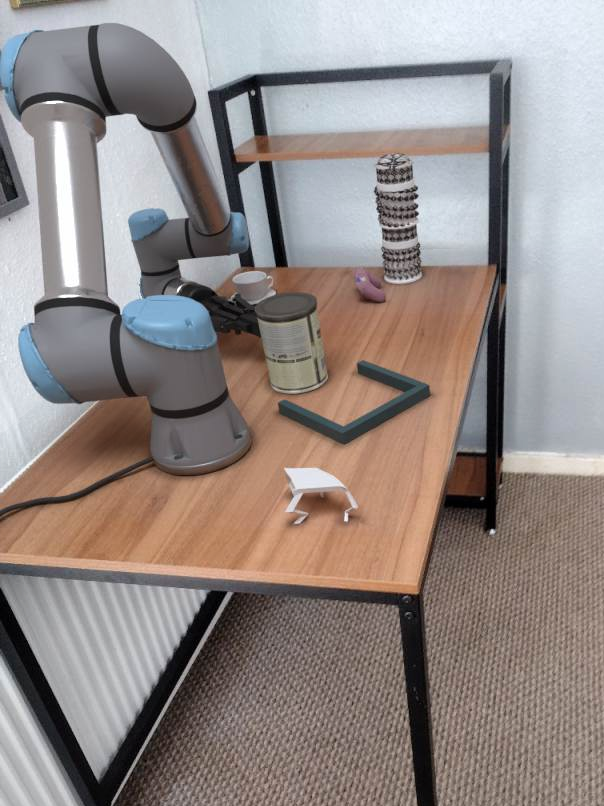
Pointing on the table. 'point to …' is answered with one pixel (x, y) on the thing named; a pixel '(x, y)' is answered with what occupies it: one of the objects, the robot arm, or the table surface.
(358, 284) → the video game controller
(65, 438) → the table surface
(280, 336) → the coffee can
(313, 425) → the teal u-shaped frame
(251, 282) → the teacup
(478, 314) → the table surface
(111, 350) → the robot arm
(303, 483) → the origami figure
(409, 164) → the decorative candle
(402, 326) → the table surface
